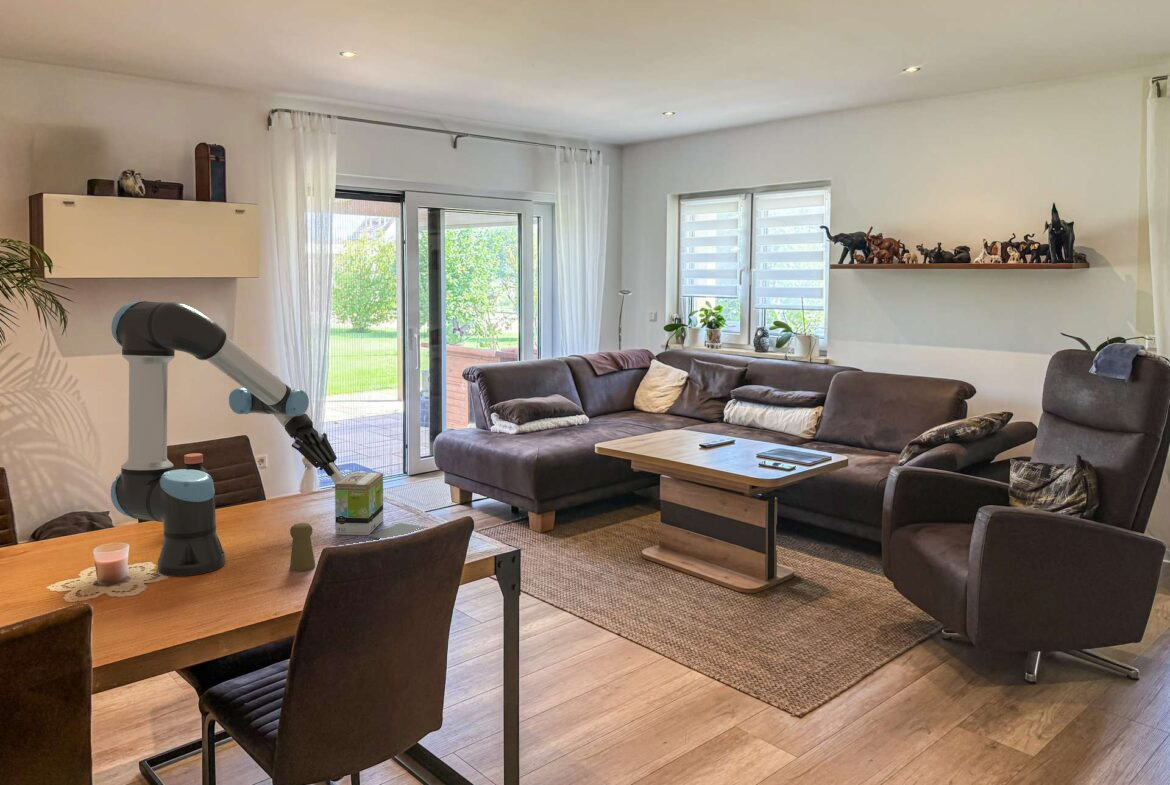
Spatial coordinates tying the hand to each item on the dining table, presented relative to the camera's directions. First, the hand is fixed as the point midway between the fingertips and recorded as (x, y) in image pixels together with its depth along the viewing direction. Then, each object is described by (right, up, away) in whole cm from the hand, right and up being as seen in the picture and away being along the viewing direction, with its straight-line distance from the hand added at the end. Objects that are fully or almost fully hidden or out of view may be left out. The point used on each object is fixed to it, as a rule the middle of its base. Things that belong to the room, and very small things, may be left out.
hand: (341, 482), depth 245 cm
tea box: (+6, -13, -3) cm, 14 cm away
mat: (+18, -13, -8) cm, 24 cm away
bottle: (-42, -12, +2) cm, 44 cm away
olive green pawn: (+1, -17, -36) cm, 40 cm away
